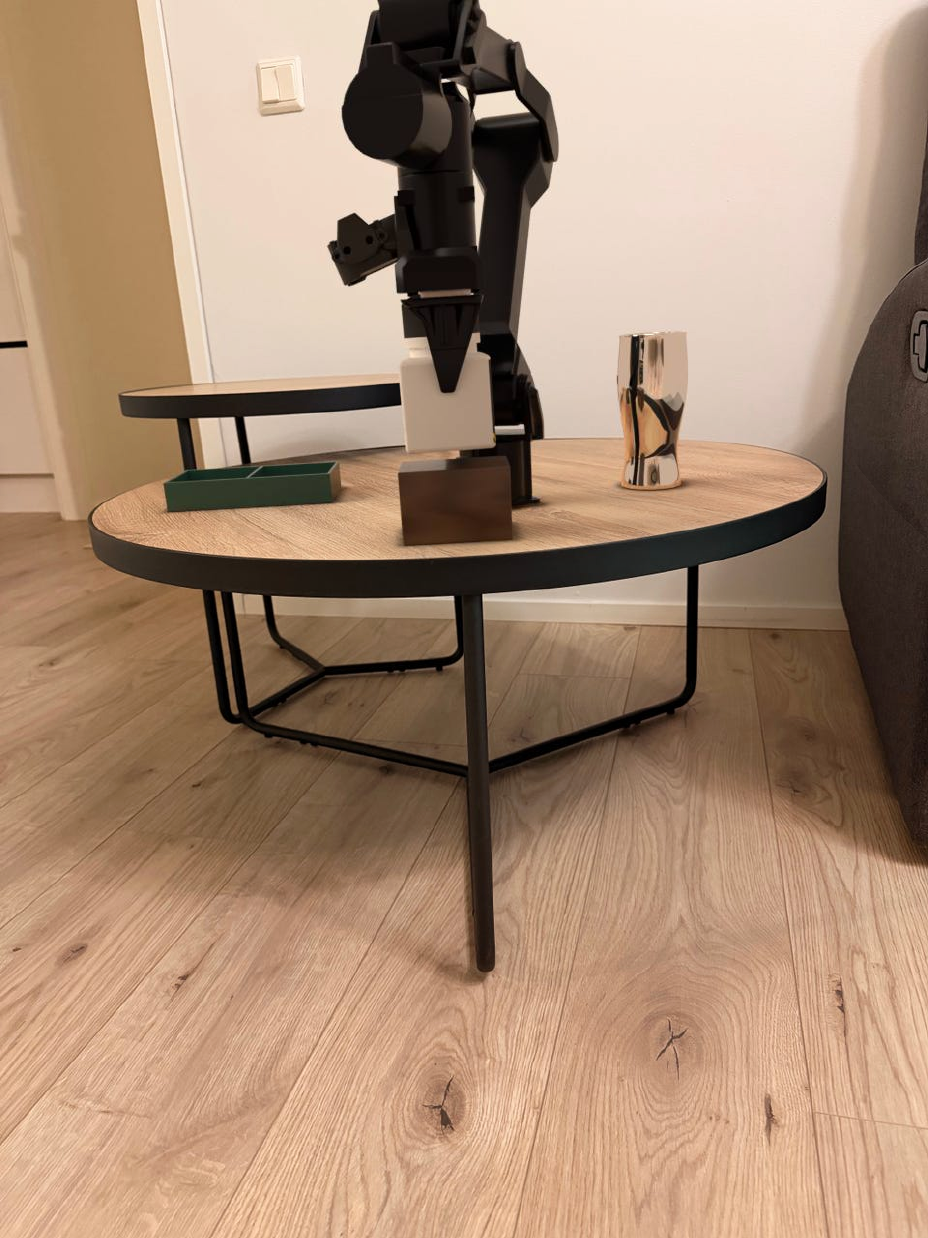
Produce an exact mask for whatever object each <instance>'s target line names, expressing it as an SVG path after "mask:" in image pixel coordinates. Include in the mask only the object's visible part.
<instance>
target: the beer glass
mask: <svg viewBox="0 0 928 1238" xmlns="http://www.w3.org/2000/svg"><path fill="white" fill-rule="evenodd" d="M688 358H689V357H688V343H687V331H685V330H684V331H683V330H681V331H680V330H677V331H676V330H675V331H673V330H672V331H654V332H653V331H652V332H634V333H624V334H623V333H622V334H619V335H618V347H617V358H616V359H617V360H616V394H617V403H618V409H619V416H620V421H621V427H622V434H623V440H624V462H623V468H622V469H623V470H622V474H621V481H620V484H621V486H622V487H623V488H625V489H631V490H637V491H639V490H640V491H641V490H642V491H657V490H666V489H674V488H677V487H679V486H681V484H682V476H681V470H680V463H679V451H678V450H679V439H680V433H681V427H682V421H683V416H684V411H685V406H686V399H687V393H688V380H689V378H688V377H689V359H688Z"/></svg>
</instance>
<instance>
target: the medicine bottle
mask: <svg viewBox="0 0 928 1238" xmlns="http://www.w3.org/2000/svg"><path fill="white" fill-rule="evenodd" d="M471 295H473V293H471ZM417 298H421V295H420V294H418V295H414V296H411V297H407V299H417ZM401 316H402V318H401V319H402V328H403V340H404V349H408V353H409V356H407V357H403V358H402V359H401V360H400V361H399V363H398V367H397V369H398V377H399V378H398V379H399V390H400V399H401V400H400V401H401V411H402V412H401V413H402V421H403V423H402V424H403V432H404V433H403V434H404V444H405V451H406V453H407V454H408V455H417V454H419V455H420V454H428V453H429V454H432V453H442V452H456V451H459V450H470V449H483V448H493V447H494V446H495V444H496V439H495V429H496V426H495V423H494V406H493V390H492V374H491V359H490V356H488V355H487V354H485V353H482V352H477V344H476V343H479V342H480V330H479V314H478V316H477V320H476V323H475V326H474V330H473V333H472V336H471V340H470V343H469V347H468V350H467V353H466V356H465V360H464V363H463V366H462V370H461V373H460V377H459V380H458V383H457V387H456V390H455V392H453V393H442V392H441V391H440V387H439V383H438V379H437V375H436V371H435V367H434V363H433V360H432V356H431V352H430V348H429V344H428V340H427V336H426V333H425V329H424V325H423V323H422V321H421V320H420V319H419V318H418V317H417V316H415V315H414V314H413V313H412V312H411V311H410V310H409V309H408V308H407V307H405V306H404V305H403V304H402V303H401Z"/></svg>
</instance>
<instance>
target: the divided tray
mask: <svg viewBox="0 0 928 1238" xmlns="http://www.w3.org/2000/svg"><path fill="white" fill-rule="evenodd" d="M341 489H342V479H341V467H340V461H323V462H319V461H318V462H305V463H288V464H287V463H286V464H270V465H251V466H237V467H217V468H216V467H215V468H200V469H185V470H184V471H182V472H180V473H178V474H176V475H175V476H173V477H172V478H170V479H168V480H166V481H164V482H163V490H164V497H165V503H166V509H167V510H166V511H167V512H168V513H171V512H187V511H206V510H221V509H239V508H241V509H242V508H259V507H273V506H294V505H308V504H327V503H333V502H334V500H335V499H336V498H337V496H338V495H339V493H340V491H341Z"/></svg>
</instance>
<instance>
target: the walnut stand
mask: <svg viewBox="0 0 928 1238" xmlns="http://www.w3.org/2000/svg"><path fill="white" fill-rule="evenodd" d="M397 481H398V482H397V483H398V493H399V494H398V495H399V507H400V519H401V533H402V544H403V546H416V545H432V544H435V545H437V544H452V543H469V542H486V541H490V542H491V541H504V540H505V541H507V540H513V539H514V533H513V510H512V509H513V507H512V505H511V479H510V466H509V463H508V460H507V458H506V456H493V457H475V458H457V459H456V458H444V459H443V458H442V459H441V458H440V459H424V460H407V461H401V464H400V466H399V469H398V471H397Z"/></svg>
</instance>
